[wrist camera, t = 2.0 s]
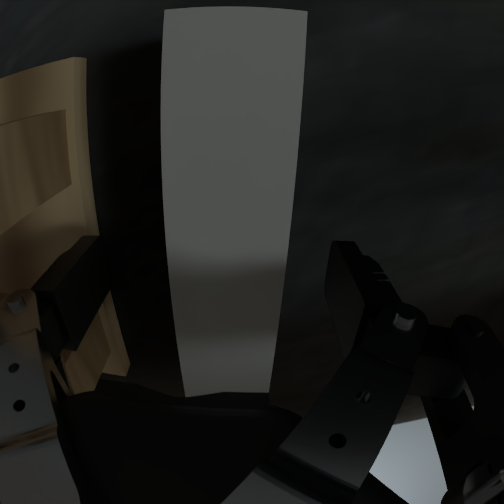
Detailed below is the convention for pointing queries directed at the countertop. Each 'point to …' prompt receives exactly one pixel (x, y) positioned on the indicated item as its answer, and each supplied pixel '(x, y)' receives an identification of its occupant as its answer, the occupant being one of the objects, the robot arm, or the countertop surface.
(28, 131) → the rack
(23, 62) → the countertop surface
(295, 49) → the clay bar
